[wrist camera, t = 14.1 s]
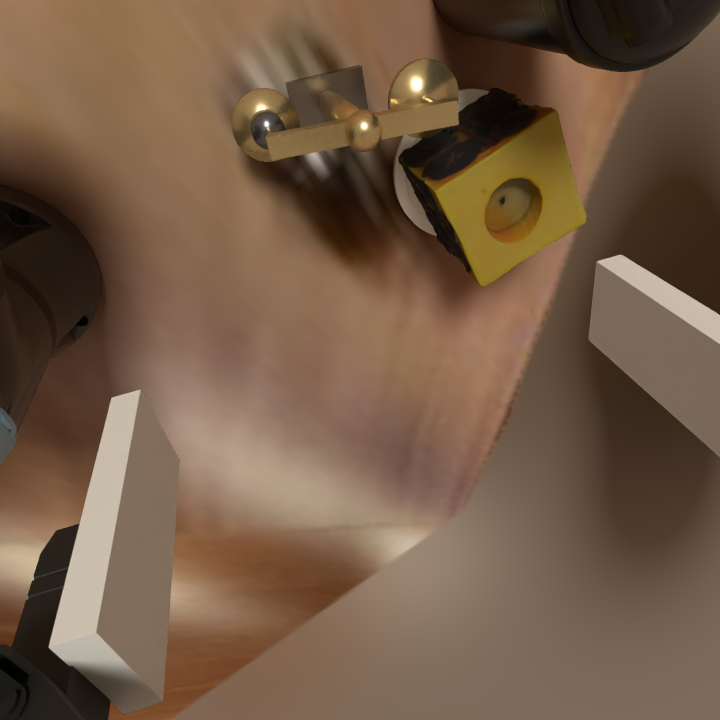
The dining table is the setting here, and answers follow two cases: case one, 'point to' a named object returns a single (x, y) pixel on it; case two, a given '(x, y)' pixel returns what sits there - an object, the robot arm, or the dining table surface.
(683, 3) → the water bottle
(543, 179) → the candle
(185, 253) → the dining table surface
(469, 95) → the dish
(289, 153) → the balance
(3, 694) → the robot arm
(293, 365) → the dining table surface
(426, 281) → the dining table surface
